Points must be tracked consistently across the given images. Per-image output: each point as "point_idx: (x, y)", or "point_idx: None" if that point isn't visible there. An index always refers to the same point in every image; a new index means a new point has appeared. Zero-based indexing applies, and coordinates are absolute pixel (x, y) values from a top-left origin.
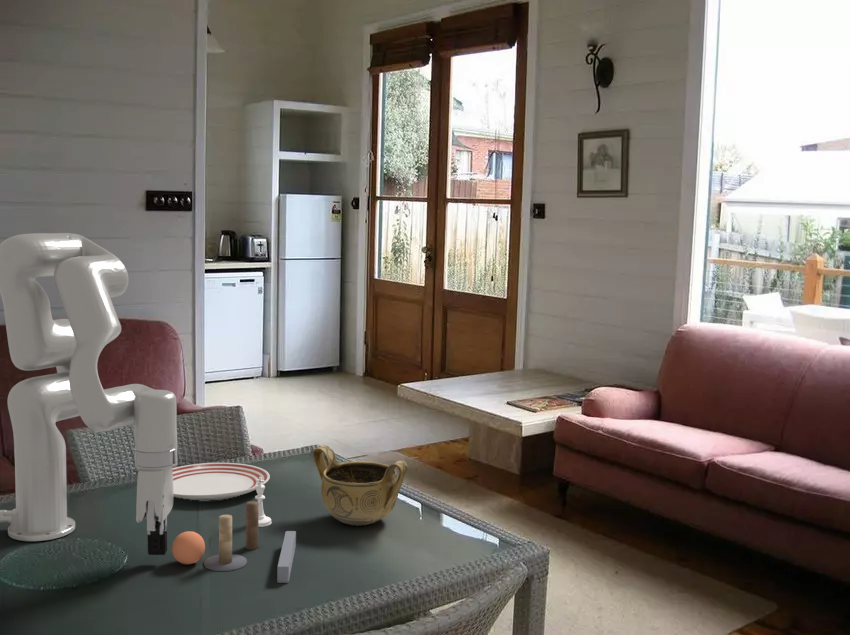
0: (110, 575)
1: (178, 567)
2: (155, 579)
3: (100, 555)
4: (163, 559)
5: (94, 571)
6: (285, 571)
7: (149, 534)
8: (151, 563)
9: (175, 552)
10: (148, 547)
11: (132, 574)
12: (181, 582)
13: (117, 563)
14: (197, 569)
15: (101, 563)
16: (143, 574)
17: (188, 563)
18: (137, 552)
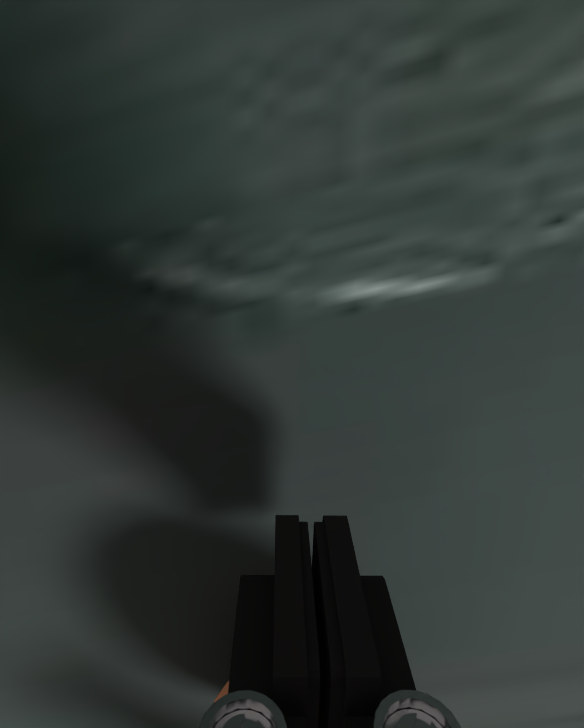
0: (56, 244)
1: None
2: (40, 549)
3: (507, 22)
4: (373, 533)
5: (120, 75)
6: None
7: (210, 723)
8: (304, 478)
9: None
10: (276, 557)
11: (99, 400)
12: (24, 675)
13: (306, 238)
14: None
15: (307, 91)
16: (109, 468)
17: None
18: (530, 341)
